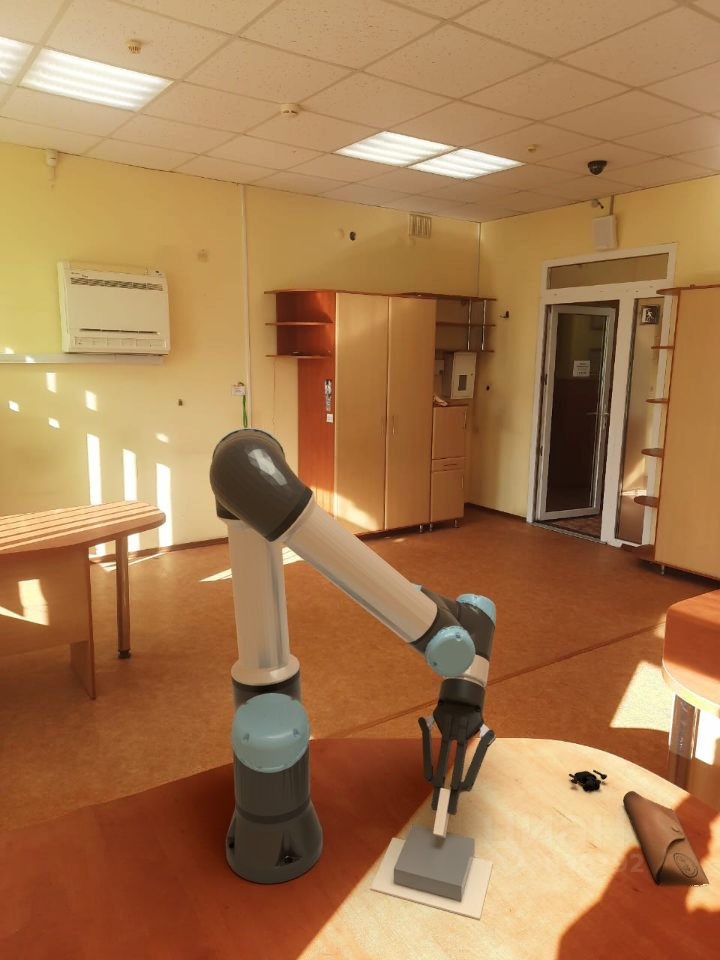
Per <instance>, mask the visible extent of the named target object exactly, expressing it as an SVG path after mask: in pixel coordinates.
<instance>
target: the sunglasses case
mask: <svg viewBox="0 0 720 960" xmlns="http://www.w3.org/2000/svg"><path fill="white" fill-rule="evenodd" d="M622 803H623V805H624V808H625V811H626V814H627V816H628V817H629V820H630V823H631V825H632V827H633V830H634V832H635V834H636V837H637V839H638V841H639V844H640V846H641V848H642V851H643V853H644V857H645V859H646V862H647V864H648V867H649V869H650V872H651V874H652V876H653V879H654V880H655V882H656V883H657V884H658V885H659V886H663V885H664V886H676V885H687V886H686V887H695V886H694V885H703V884H710V882H709V880H708V876H707V874H706V873H705V871H704V869H703V866H702V865H701V863H700V861H699V859H698V857H697V855H696V853H695V851H694V848H693V847H692V845H691V843H690V842H689V839H688V837H687V835H686V833H685V831H684V829H683V827H682V823H681V822H680V820H679V818H678V815H677V813H676V811H675V809H673V808H669V807H666V806H664V805H662V804H660V803H658V802H655V801H653V800H650V799H648V798H646V797H644V796H642V795H641V794H639V793H638V792H636V791H635V790H634V791H633V790H630V791H628V792H626V793H625V794H624V796H623V799H622ZM672 809H673V810H672ZM674 811H675V812H674ZM690 885H691V886H690ZM692 885H693V886H692Z"/></svg>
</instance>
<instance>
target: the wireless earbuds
mask: <svg viewBox="0 0 720 960" xmlns="http://www.w3.org/2000/svg"><path fill="white" fill-rule="evenodd" d="M592 772H593V773H594V774H593V773H592ZM592 772H590V771H588V770H584V771H577V772H575V773H574V775H573V774H572V773H569V774H568V776H569V777H570V778H572V779H570V782H571V784H574V785H577V784H578V783H580V784H582V789H583V791H585V792H587V791H589V792H594V790H595V791H597V790H600V787H601V783H602V781H603V780H606V779H607V778H608V775H607V774H605V773H601V772H600V771H598V770H595V769H592ZM595 774H597V775H599V776H600V779H597V776H596V775H595ZM601 780H602V781H601Z"/></svg>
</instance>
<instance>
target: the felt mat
mask: <svg viewBox="0 0 720 960" xmlns="http://www.w3.org/2000/svg"><path fill="white" fill-rule="evenodd" d="M405 841H406V839H405V840H404V839H401V838H396V837H392V838H391V841H390V843H389V845H388V848H387V849H386V852H385V854H384V856H383V859H382V860H381V863H380V865H379V866H378V870H377V872H376V874H375V877H374V879H373V880H372V884H371V885H370V888H369V890H371V891H373V892H376V893H381V894H384V895H388V896H392V897H394V898H395V897H396V898H398V899H401V900H402V899H403V900H406V901H410V902H413V903H417V904H420V905H423V906H427V907H431V908H435V909H438V910H442V911H446V912H450V913H451V914H455V915H456V914H457V915H460V916H463V917H467V918H471V919H474V920H476V921H477V920H478V921H481V918H482V917H481V916H482V913H483V908H484V905H485V900H486V896H487V891H488V887H489V883H490V878H491V874H492V869H493V866H494V862H492V861H490V860H489V861H488V860H486V859H482V858H478V857H474V856H473V860H472V864H471V867H470V871H469V875H468V878H467V882H466V886H465V889H464V893H463V897H462V900H461V901H459V900H456V899H452V898H448V897H445V896H441V895H437V894H433V893H430V892H426V891H422V890H419V889H415V888H411V887H408V886H404V885H400V884H397V883H394V867H395V865H396V862H397V860H398V857H399V855H400V853H401V850H402V848H403V845H404V843H405Z"/></svg>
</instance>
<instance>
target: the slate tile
mask: <svg viewBox="0 0 720 960" xmlns="http://www.w3.org/2000/svg"><path fill="white" fill-rule="evenodd" d="M433 832H434V828H432V827H431V828H430V827H428V826H427V827H426V826H423V825H418V824H414V823H412V824H411V827H410V829H409V830H408V833H407V836H406V838H405V843H404V845H403V848H402V850H401V853H400V855H399V857H398V860H397V862H396V865H395V867H394V883H397V884H400V885H404V886H408V887H411V888H415V889H419V890H422V891H426V892H430V893H433V894H437V895H441V896H445V897H448V898H452V899H456V900H459V901H461V900H462V897H463V893H464V889H465V886H466V882H467V878H468V875H469V871H470V867H471V864H472V860H473V857H474V856H475V852H476V851H475V850H476V848H475V847H476V846H475V845H476V844H475V843H476V838H474V837H473V838H472V837H468V836H464V835H460V834H456V833H452V832H448V831H446V838H442V837H438V836H435V835H434V834H433Z"/></svg>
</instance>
